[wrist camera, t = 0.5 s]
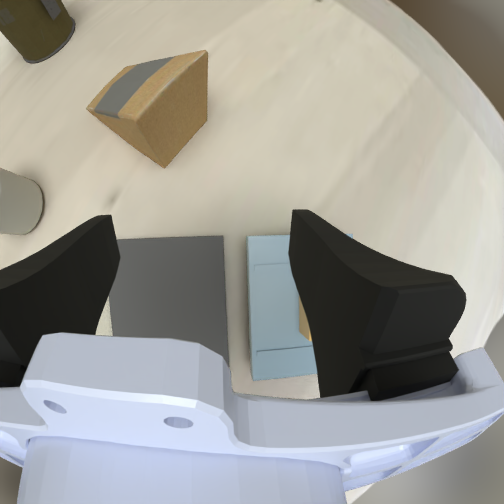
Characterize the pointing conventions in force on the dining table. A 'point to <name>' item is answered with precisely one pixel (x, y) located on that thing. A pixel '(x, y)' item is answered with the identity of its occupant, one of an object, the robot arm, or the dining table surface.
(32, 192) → the can
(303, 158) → the dining table surface
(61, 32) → the canister
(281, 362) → the lid
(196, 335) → the mat
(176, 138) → the sandwich container
